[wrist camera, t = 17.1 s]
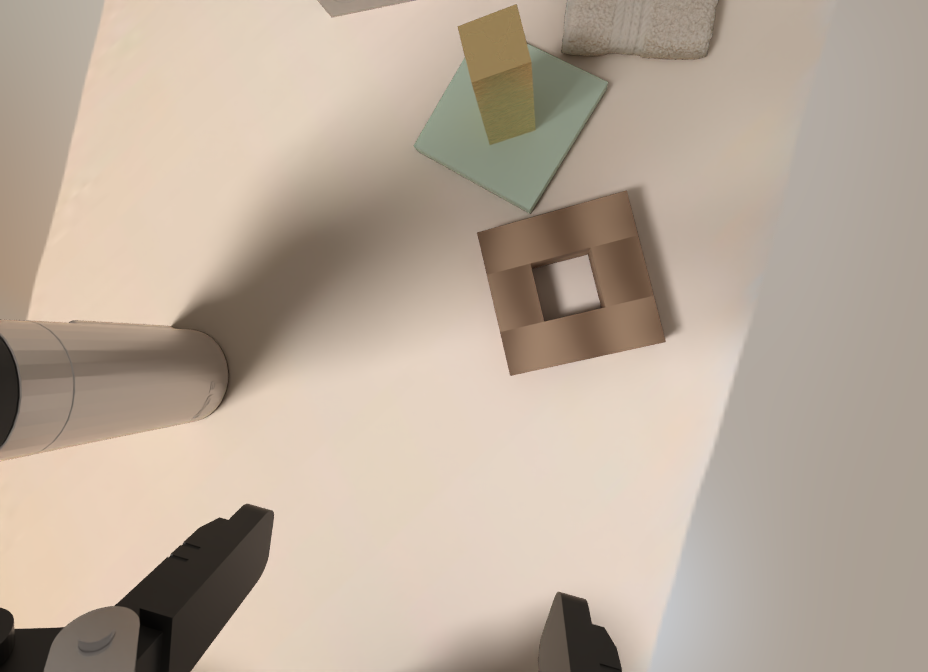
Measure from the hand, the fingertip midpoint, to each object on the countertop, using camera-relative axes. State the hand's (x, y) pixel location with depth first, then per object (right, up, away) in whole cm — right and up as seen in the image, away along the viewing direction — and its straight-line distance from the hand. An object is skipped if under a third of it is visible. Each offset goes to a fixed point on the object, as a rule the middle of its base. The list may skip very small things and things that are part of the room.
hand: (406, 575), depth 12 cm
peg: (+5, +25, +25) cm, 36 cm away
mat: (+5, +25, +26) cm, 37 cm away
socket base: (+10, +10, +25) cm, 29 cm away
